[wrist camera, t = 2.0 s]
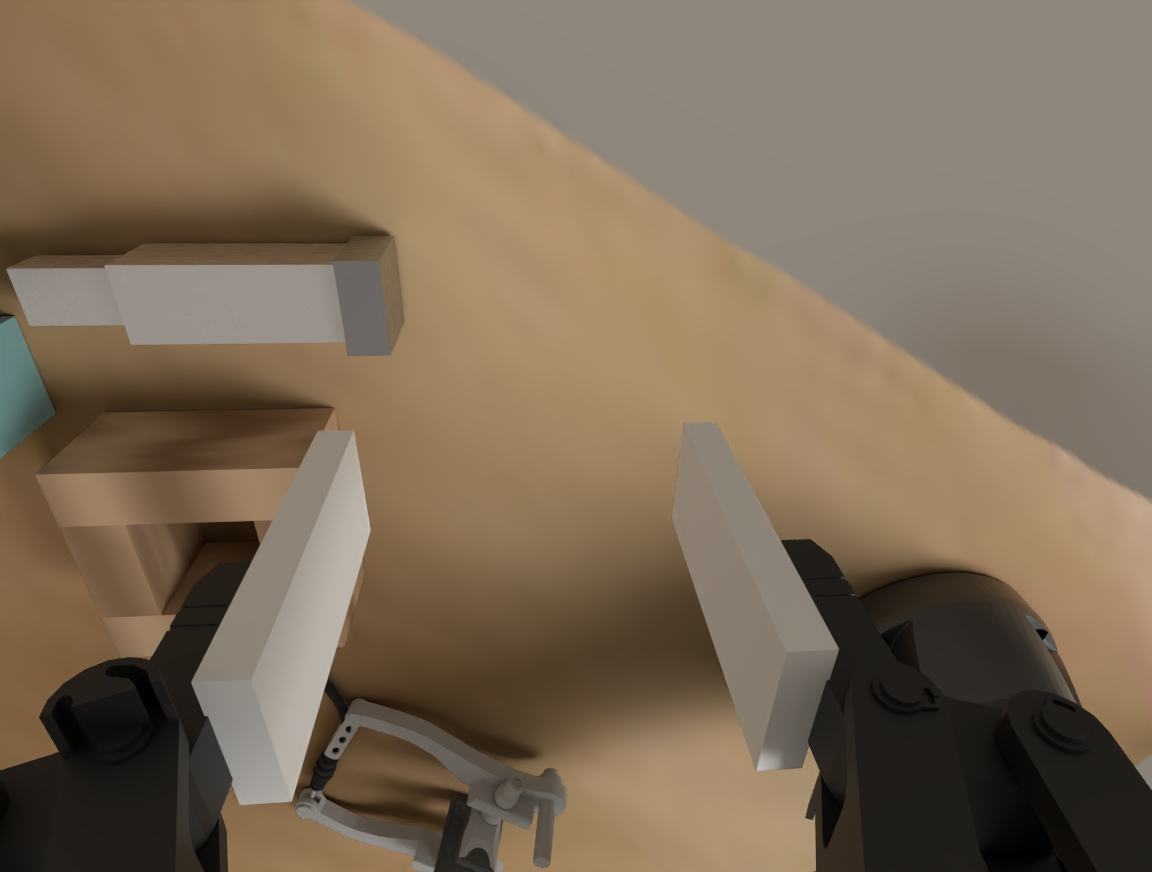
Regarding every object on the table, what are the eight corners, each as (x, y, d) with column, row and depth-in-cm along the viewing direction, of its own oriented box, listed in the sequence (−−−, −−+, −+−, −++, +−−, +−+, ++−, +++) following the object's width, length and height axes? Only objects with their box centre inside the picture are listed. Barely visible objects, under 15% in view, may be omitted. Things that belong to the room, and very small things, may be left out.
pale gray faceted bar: (394, 235, 27) (379, 260, 24) (404, 321, 28) (390, 355, 25) (32, 235, 26) (-34, 261, 22) (66, 324, 27) (9, 360, 24)
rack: (334, 407, 30) (305, 467, 26) (364, 574, 36) (344, 647, 31) (103, 412, 30) (34, 474, 25) (168, 581, 35) (119, 657, 30)
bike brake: (587, 753, 44) (302, 624, 40) (582, 859, 38) (245, 718, 34) (493, 857, 49) (236, 752, 46) (475, 963, 43) (177, 851, 40)
